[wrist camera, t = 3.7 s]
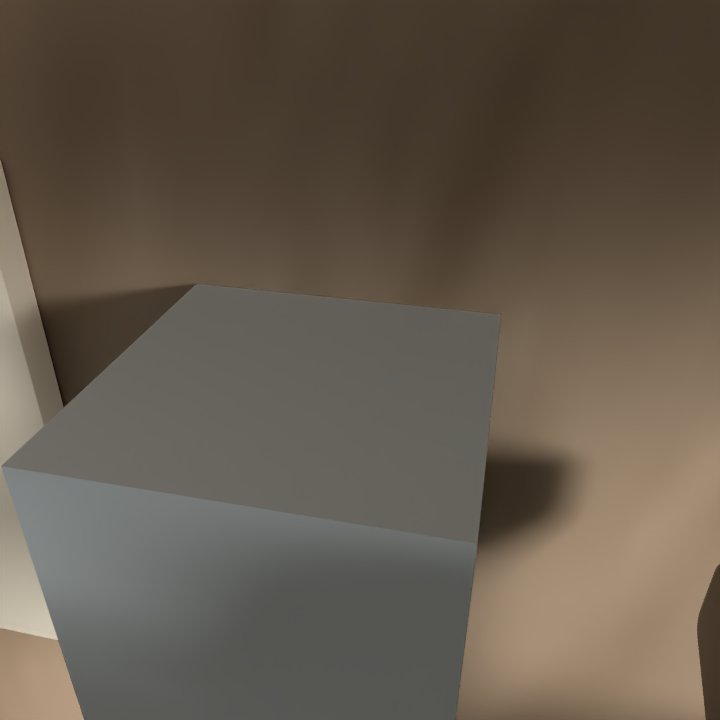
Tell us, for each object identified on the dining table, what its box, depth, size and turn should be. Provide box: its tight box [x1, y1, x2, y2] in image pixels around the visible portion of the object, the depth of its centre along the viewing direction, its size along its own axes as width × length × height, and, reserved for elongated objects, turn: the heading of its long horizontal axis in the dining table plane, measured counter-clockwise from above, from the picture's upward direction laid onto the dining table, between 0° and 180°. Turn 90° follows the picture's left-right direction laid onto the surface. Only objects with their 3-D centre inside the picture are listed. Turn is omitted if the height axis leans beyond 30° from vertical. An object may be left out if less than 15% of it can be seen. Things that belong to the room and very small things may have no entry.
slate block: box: [1, 284, 501, 720], centre depth 8 cm, size 4×4×4 cm
